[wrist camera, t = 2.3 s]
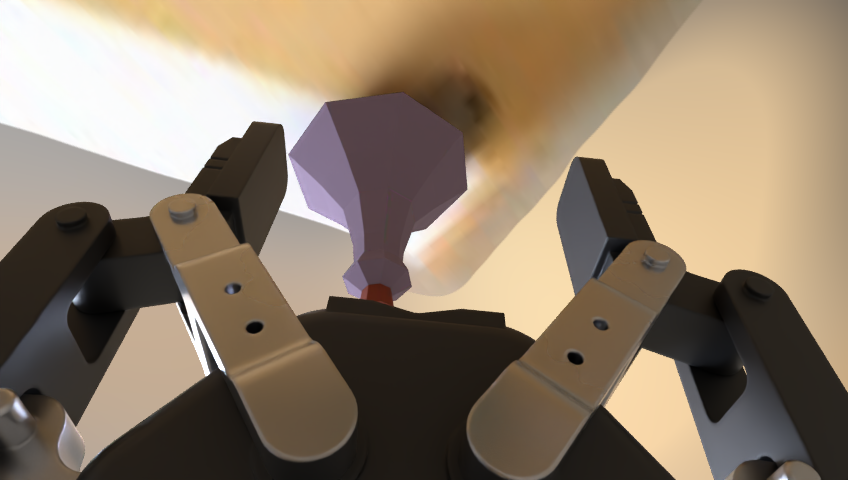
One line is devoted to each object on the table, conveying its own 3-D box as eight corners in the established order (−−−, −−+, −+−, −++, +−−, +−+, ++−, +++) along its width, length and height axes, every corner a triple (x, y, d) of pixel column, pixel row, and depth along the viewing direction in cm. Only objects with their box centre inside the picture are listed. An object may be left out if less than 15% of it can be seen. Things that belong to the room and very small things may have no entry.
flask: (412, 28, 42) (421, 182, 28) (495, 168, 52) (532, 333, 38) (257, 119, 47) (197, 287, 33) (359, 230, 57) (347, 395, 43)
